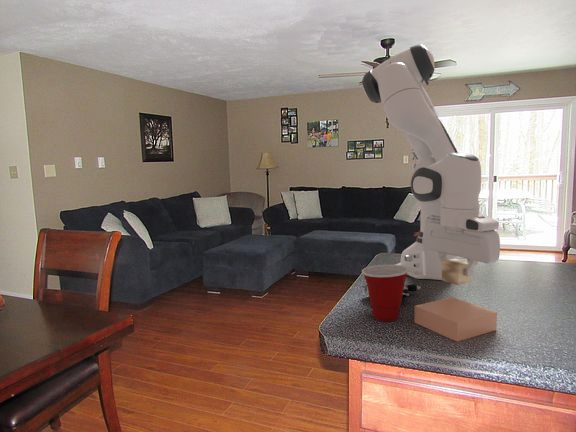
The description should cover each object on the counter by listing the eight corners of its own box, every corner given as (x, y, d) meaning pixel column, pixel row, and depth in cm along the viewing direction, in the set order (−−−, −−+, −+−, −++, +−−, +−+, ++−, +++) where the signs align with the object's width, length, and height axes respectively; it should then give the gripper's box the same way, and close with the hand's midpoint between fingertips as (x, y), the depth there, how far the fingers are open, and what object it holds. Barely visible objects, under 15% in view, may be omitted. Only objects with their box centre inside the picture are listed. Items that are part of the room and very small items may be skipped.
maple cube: (441, 280, 106) (442, 261, 105) (454, 277, 108) (455, 258, 108) (458, 285, 102) (459, 265, 101) (471, 281, 104) (472, 262, 103)
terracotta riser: (414, 322, 95) (414, 305, 94) (451, 313, 100) (452, 297, 100) (457, 341, 84) (457, 322, 84) (496, 329, 90) (497, 312, 89)
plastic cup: (366, 307, 106) (366, 261, 104) (410, 312, 102) (411, 264, 100) (356, 322, 96) (356, 271, 94) (404, 328, 92) (405, 275, 90)
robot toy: (382, 290, 123) (358, 300, 111) (382, 275, 123) (358, 283, 111) (423, 297, 116) (401, 308, 104) (423, 281, 115) (402, 291, 103)
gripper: (417, 214, 110) (415, 265, 112) (489, 225, 93) (485, 285, 95) (434, 213, 113) (431, 262, 115) (505, 223, 96) (501, 280, 98)
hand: (456, 272), depth 105 cm, fingers closed on maple cube, 5 cm apart
